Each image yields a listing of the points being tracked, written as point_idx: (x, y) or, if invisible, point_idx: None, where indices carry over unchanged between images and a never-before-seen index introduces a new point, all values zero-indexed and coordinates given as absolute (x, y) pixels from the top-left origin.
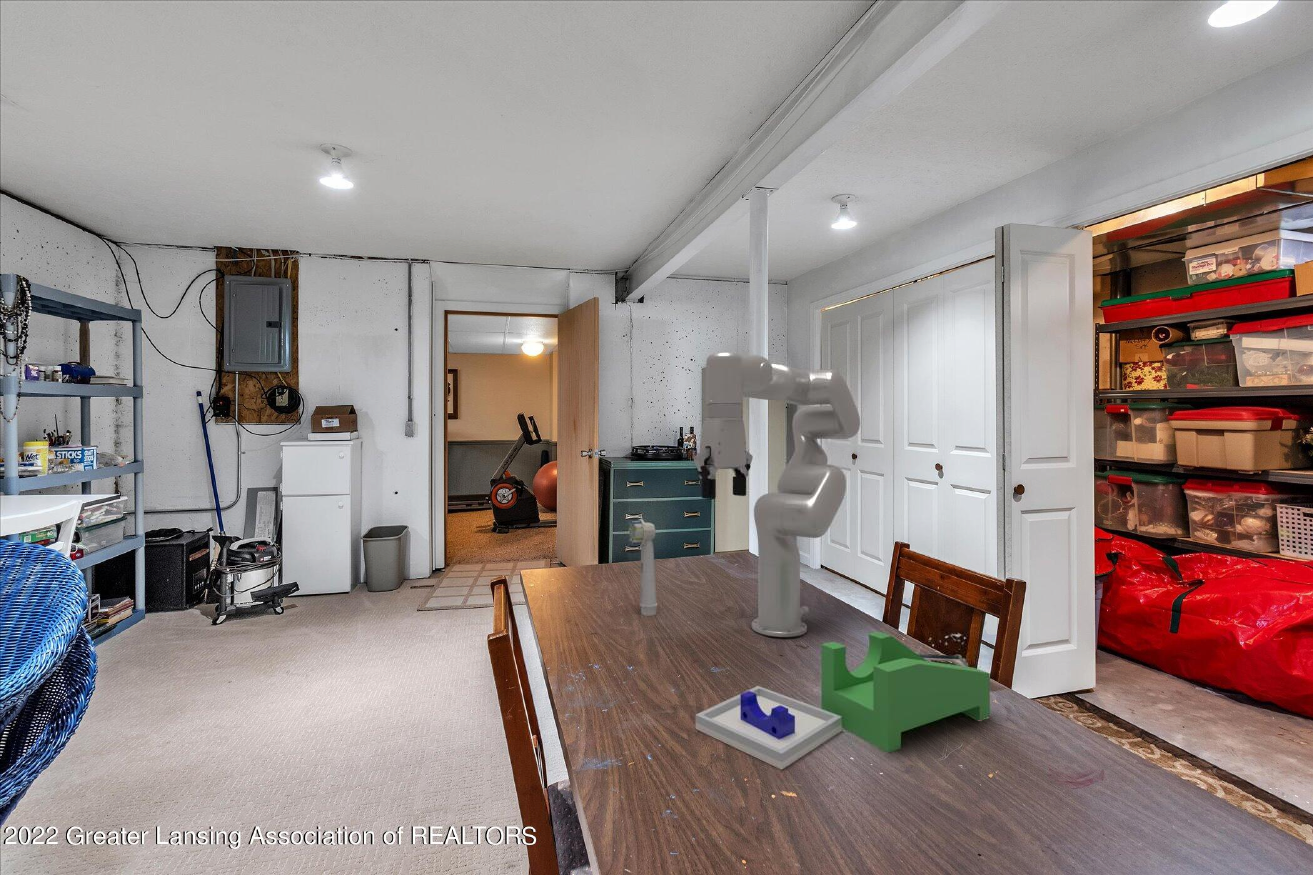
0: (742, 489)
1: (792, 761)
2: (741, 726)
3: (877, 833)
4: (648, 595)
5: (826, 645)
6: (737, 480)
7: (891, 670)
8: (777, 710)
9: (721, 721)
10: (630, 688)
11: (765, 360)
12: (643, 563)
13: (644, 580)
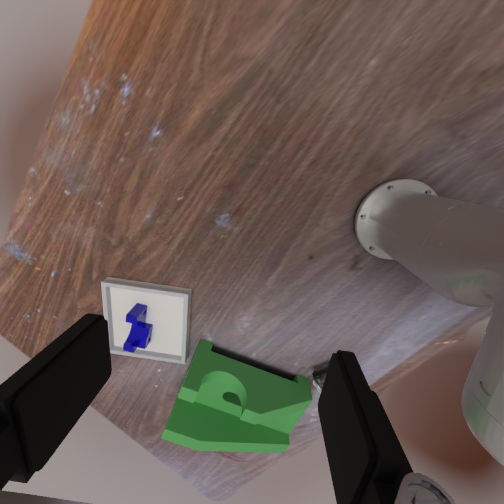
0: (324, 429)
1: None
2: (128, 308)
3: (104, 396)
4: None
5: (182, 390)
6: (349, 460)
7: (165, 439)
8: (124, 348)
9: (122, 293)
10: (116, 177)
11: None
12: None
13: None
